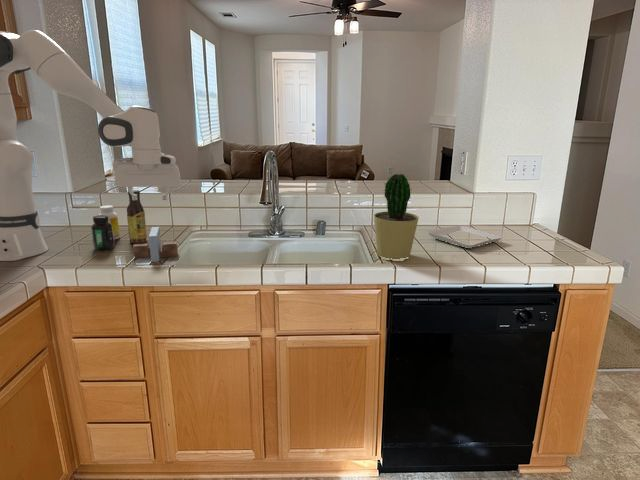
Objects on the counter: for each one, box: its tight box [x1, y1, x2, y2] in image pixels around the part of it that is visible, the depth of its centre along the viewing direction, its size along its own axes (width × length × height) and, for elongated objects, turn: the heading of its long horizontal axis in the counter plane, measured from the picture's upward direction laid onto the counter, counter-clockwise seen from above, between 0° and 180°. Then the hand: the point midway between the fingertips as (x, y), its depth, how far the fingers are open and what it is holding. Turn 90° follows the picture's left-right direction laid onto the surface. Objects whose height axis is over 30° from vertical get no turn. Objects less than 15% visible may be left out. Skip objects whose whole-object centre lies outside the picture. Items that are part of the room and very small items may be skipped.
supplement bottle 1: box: [98, 205, 121, 241], centre depth 168 cm, size 7×7×13 cm
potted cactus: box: [373, 173, 419, 259], centre depth 150 cm, size 15×15×30 cm
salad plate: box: [427, 225, 503, 249], centre depth 173 cm, size 21×21×3 cm
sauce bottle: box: [126, 189, 148, 244], centre depth 164 cm, size 7×6×20 cm
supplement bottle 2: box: [90, 214, 116, 252], centre depth 156 cm, size 7×7×12 cm
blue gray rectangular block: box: [148, 226, 162, 263], centre depth 149 cm, size 2×12×9 cm, turn 16°
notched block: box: [132, 241, 179, 260], centre depth 149 cm, size 14×2×4 cm, turn 106°
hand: (150, 199), depth 144 cm, fingers open, 8 cm apart
